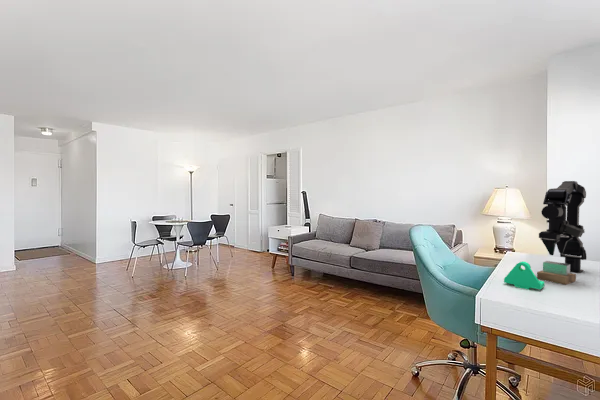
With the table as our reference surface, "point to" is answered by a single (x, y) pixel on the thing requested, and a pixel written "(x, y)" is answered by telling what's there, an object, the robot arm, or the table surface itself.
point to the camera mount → (523, 277)
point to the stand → (556, 277)
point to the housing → (556, 268)
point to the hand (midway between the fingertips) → (556, 254)
